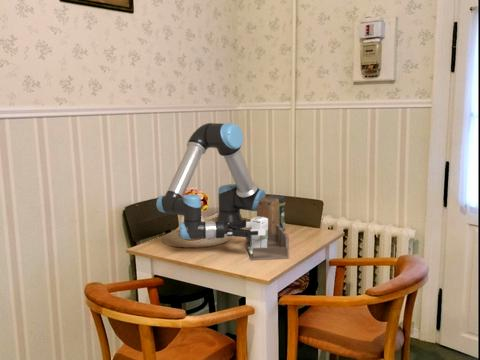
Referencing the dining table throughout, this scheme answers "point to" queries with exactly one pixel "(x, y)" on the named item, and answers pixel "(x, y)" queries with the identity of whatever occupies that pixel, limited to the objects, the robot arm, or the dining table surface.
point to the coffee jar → (281, 209)
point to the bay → (271, 247)
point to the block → (269, 212)
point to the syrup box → (262, 239)
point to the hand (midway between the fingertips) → (262, 227)
